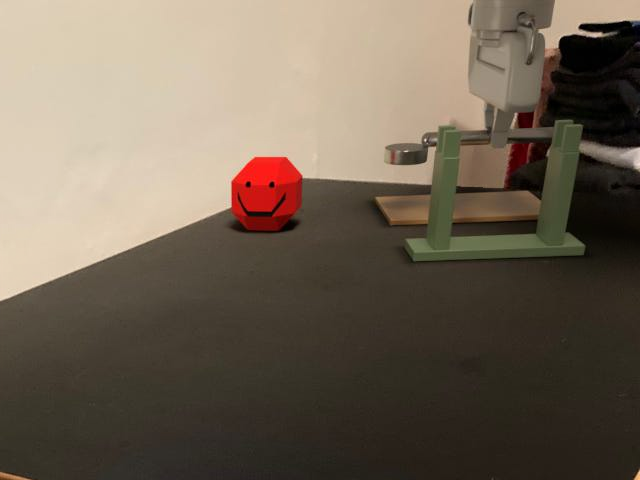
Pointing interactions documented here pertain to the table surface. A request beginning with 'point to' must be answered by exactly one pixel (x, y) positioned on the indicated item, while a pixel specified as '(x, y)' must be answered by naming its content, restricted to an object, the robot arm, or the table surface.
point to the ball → (266, 193)
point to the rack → (541, 244)
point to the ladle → (419, 152)
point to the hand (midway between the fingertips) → (494, 145)
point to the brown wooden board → (463, 207)
